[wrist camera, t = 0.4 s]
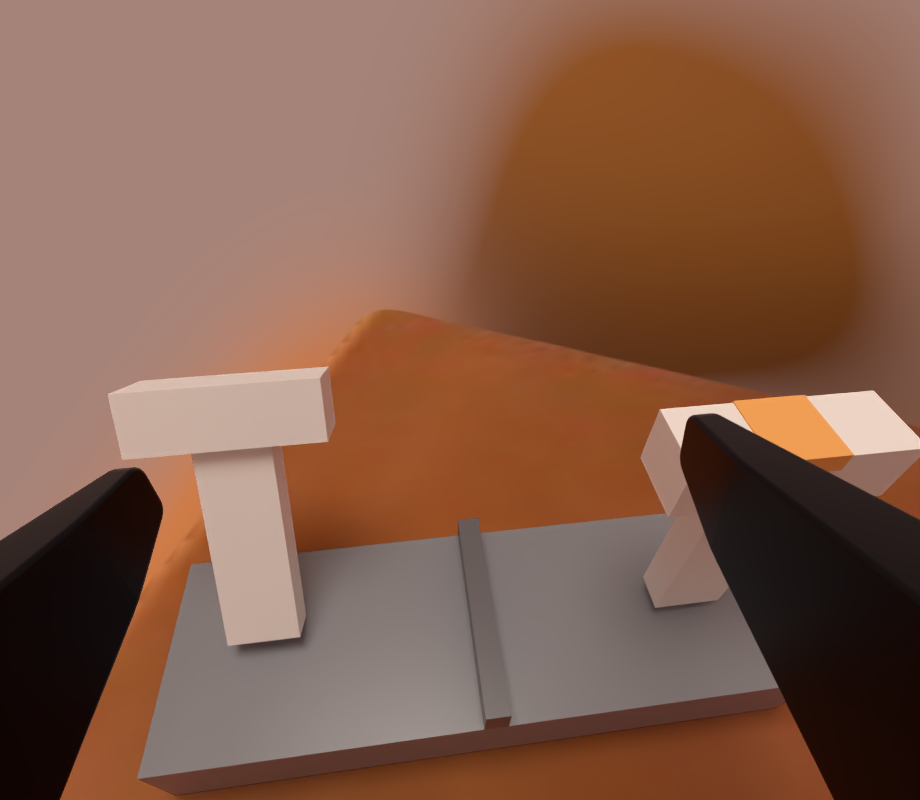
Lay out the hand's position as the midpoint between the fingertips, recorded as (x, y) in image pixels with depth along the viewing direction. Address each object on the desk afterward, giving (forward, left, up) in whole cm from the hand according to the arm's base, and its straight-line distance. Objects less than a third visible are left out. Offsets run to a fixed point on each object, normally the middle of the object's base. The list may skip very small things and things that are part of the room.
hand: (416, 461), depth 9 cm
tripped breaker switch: (+2, -9, -12) cm, 16 cm away
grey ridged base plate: (+2, -2, -15) cm, 16 cm away
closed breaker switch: (+2, +6, -12) cm, 14 cm away
